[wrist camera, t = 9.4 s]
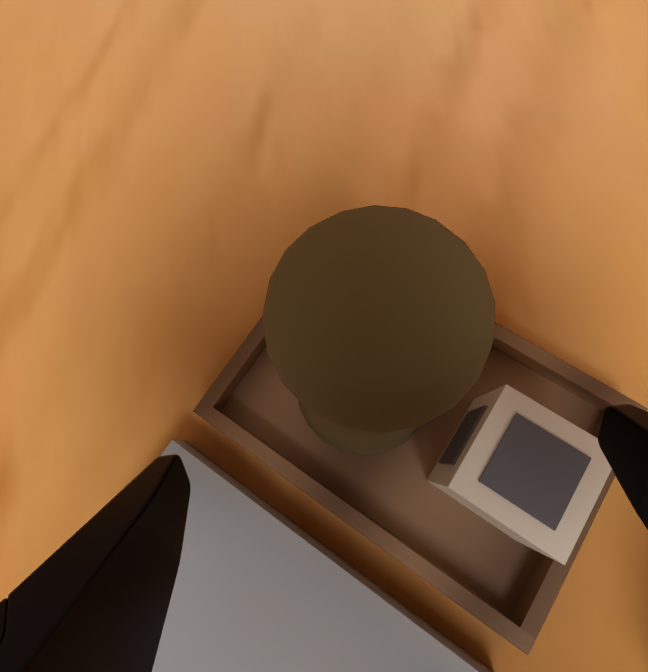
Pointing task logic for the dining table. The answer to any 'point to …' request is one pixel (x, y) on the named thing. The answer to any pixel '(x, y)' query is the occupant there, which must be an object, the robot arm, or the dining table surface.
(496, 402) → the beige and grey cube
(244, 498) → the grey tray
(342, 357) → the brown rounded upright piece
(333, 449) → the walnut tray
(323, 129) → the dining table surface
